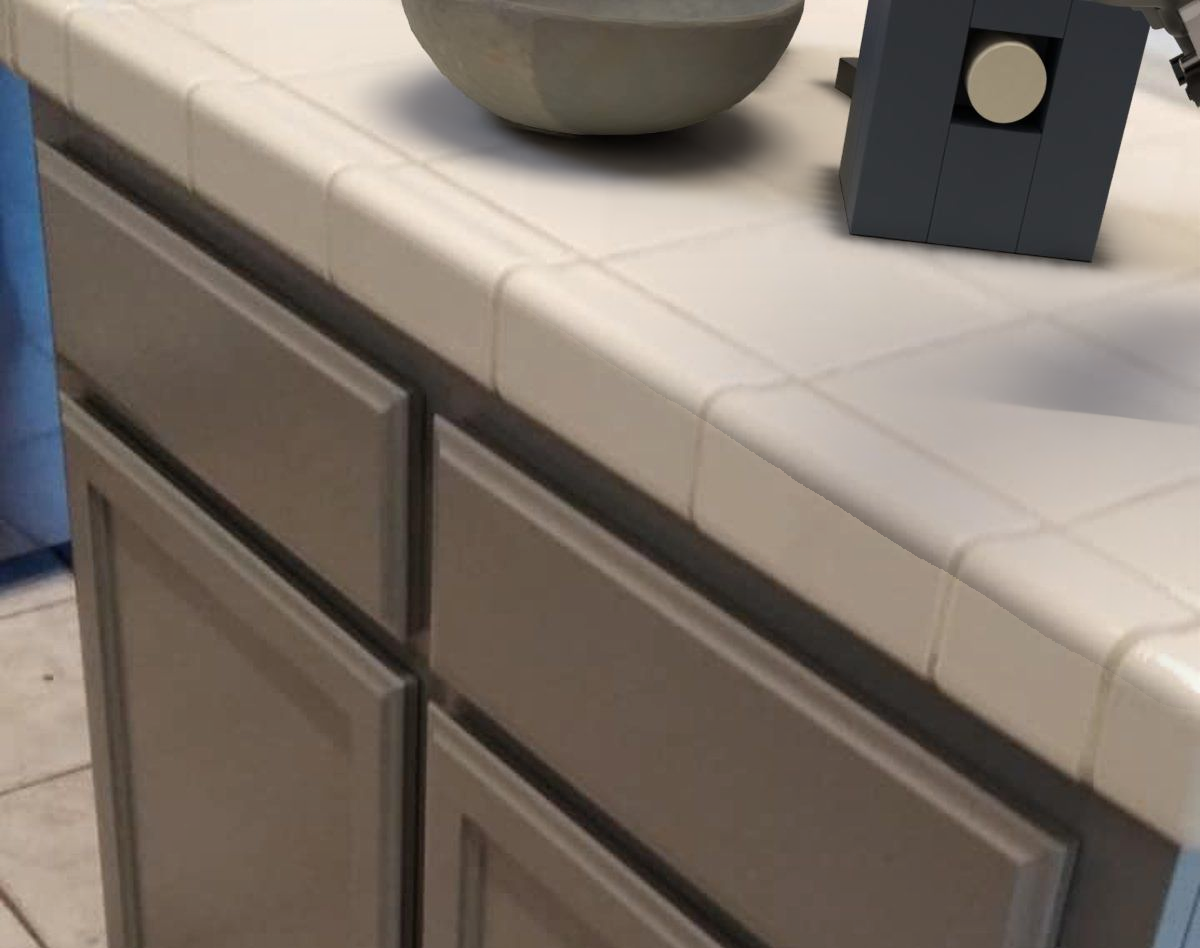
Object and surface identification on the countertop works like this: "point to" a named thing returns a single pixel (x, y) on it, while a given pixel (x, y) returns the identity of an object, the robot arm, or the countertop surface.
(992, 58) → the power button
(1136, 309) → the countertop surface
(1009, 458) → the countertop surface
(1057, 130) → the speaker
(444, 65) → the bowl
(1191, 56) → the robot arm
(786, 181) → the countertop surface
